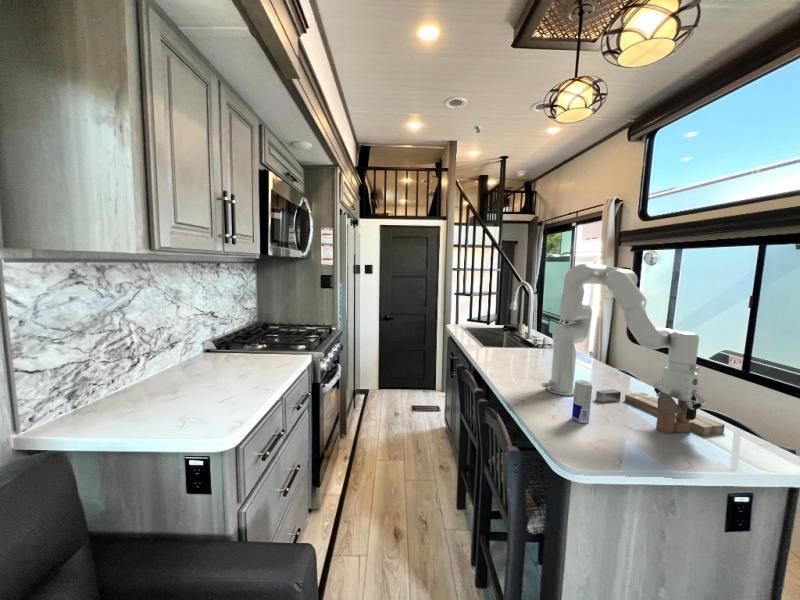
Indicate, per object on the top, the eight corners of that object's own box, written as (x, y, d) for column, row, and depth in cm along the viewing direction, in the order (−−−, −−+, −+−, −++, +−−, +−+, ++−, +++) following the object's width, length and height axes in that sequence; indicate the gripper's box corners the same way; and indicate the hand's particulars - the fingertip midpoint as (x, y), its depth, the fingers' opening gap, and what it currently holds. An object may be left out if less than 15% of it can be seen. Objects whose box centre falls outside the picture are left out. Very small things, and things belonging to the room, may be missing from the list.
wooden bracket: (655, 428, 118) (661, 380, 116) (680, 427, 120) (686, 379, 118) (665, 434, 114) (671, 384, 112) (690, 432, 116) (697, 383, 114)
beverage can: (587, 418, 124) (590, 380, 123) (590, 425, 119) (594, 385, 117) (570, 416, 126) (574, 378, 124) (573, 422, 121) (576, 383, 119)
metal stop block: (601, 402, 140) (602, 393, 140) (595, 399, 143) (596, 390, 143) (620, 400, 143) (620, 391, 142) (613, 398, 146) (614, 389, 145)
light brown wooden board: (703, 435, 114) (704, 427, 114) (624, 400, 143) (625, 394, 143) (723, 432, 117) (724, 424, 116) (642, 399, 145) (643, 392, 145)
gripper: (717, 373, 107) (711, 423, 109) (663, 359, 124) (658, 402, 126) (701, 375, 105) (694, 425, 107) (648, 360, 122) (643, 404, 124)
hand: (675, 413), depth 116 cm, fingers open, 9 cm apart
